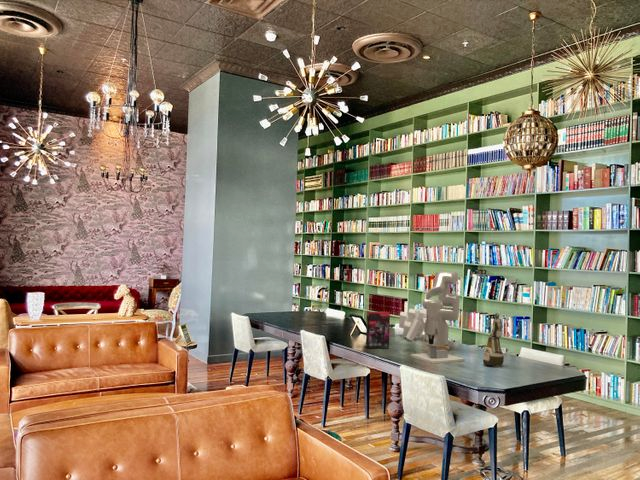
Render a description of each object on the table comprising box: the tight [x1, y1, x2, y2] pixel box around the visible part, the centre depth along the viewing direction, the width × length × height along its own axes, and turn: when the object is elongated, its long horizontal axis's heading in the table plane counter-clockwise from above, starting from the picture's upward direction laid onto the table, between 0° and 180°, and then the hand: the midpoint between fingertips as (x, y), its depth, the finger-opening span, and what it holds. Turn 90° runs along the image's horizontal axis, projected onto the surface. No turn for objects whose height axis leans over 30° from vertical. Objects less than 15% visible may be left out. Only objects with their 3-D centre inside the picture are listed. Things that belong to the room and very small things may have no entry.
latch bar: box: [427, 344, 450, 350], centre depth 350 cm, size 18×3×3 cm, turn 120°
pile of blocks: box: [398, 308, 429, 342], centre depth 429 cm, size 35×30×35 cm
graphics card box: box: [365, 310, 391, 349], centre depth 381 cm, size 17×7×27 cm, turn 101°
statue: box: [482, 312, 505, 367], centre depth 336 cm, size 16×11×35 cm, turn 118°
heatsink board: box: [410, 344, 466, 365], centre depth 350 cm, size 28×24×10 cm
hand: (431, 344), depth 357 cm, fingers closed
